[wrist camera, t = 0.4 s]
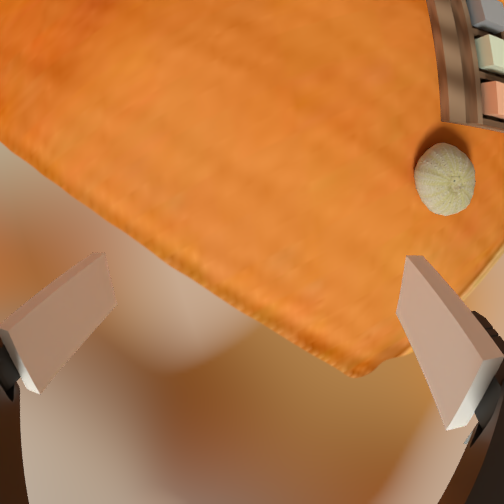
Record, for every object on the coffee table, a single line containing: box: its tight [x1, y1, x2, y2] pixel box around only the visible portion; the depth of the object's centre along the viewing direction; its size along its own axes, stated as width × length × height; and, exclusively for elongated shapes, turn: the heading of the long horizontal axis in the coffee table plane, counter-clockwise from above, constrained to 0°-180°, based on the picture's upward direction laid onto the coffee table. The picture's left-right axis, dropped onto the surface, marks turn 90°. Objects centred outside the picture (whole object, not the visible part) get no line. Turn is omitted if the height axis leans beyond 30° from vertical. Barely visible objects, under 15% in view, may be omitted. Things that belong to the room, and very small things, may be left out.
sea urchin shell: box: [414, 142, 476, 216], centre depth 33 cm, size 9×8×8 cm
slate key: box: [466, 0, 504, 34], centre depth 19 cm, size 4×4×4 cm
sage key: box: [475, 34, 504, 75], centre depth 22 cm, size 4×4×4 cm
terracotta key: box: [481, 81, 504, 119], centre depth 24 cm, size 4×4×4 cm
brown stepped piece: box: [426, 0, 504, 133], centre depth 24 cm, size 25×12×6 cm, turn 3°
